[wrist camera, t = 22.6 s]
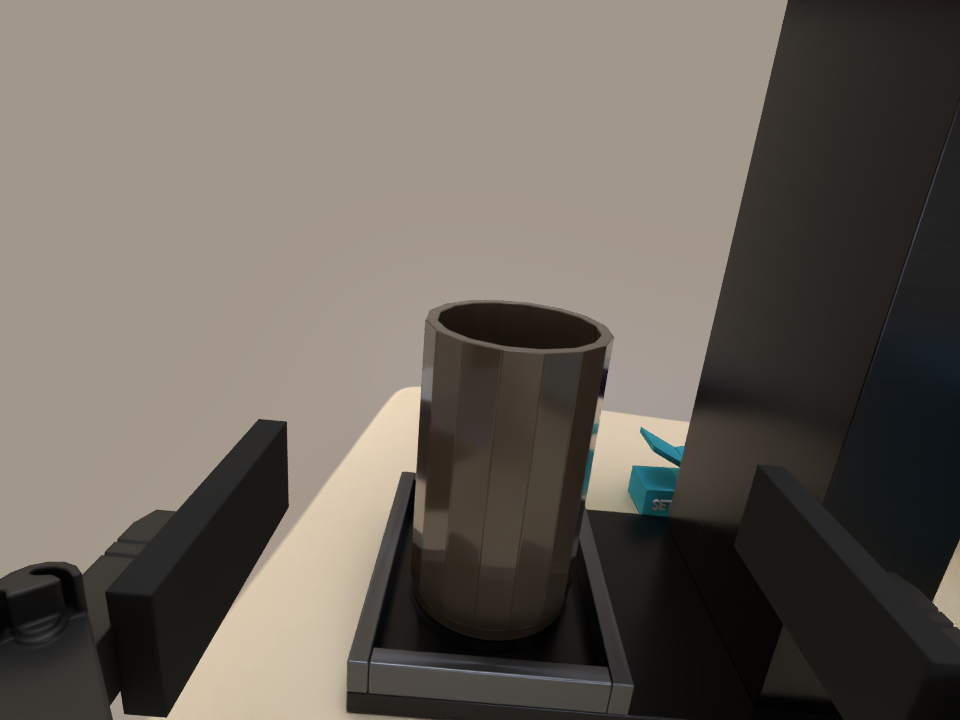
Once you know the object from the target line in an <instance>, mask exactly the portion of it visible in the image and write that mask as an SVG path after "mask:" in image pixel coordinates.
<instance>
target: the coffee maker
mask: <svg viewBox="0 0 960 720" xmlns="http://www.w3.org/2000/svg"><path fill="white" fill-rule="evenodd" d="M758 464H761V465H772V466H783V467H786V468H787V470H788V471H789V472H790V473H791V474H792V475H793V476H794V477H795V478H796V479H797V480H798V481H799V482H800V483H801V484H802V485H803V486H804V487H805V488H806V489H807V490H808V491H809V492H810V493H811V494H812V495H813V496H814V498H815V499H816V500H817V501H818V502H819V503H820V504H821V505H822V506H823V507H824V508H825V509H826V510H827V511H828V512H829V513H830V514H831V515H832V516H833V517H834V518H835V519H836V520H837V521H838V522H839V523H840V525H841V526H842V527H843V528H844V529H845V530H846V531H847V532H848V533H849V534H850V535H851V536H852V537H853V538H854V539H855V540H856V541H857V542H858V543H859V544H860V545H861V546H862V547H863V548H864V549H865V550H866V551H867V553H868V554H869V555H870V556H871V557H872V558H873V559H874V560H875V561H876V562H877V563H878V564H879V565H880V566H881V567H882V568H883V569H884V570H885V571H886V572H890V573H895V574H897V575H898V576H900V577H901V578H903V579H904V580H906V581H907V582H909V583H910V584H912V585H913V586H915V587H916V588H918V589H919V590H920V591H921V592H922V593H923V594H924V595H925V596H926V597H927V598H928V599H929V600H930V601H931V602H933V599H934V597H935V595H936V592H937V590H938V588H939V586H940V583H941V581H942V579H943V576H944V574H945V572H946V570H947V567H948V565H949V563H950V560H951V558H952V556H953V553H954V551H955V549H956V547H957V544H958V542H959V540H960V0H788V3H787V7H786V11H785V16H784V20H783V24H782V29H781V33H780V37H779V42H778V46H777V50H776V55H775V59H774V64H773V68H772V72H771V76H770V80H769V85H768V89H767V94H766V98H765V102H764V106H763V111H762V115H761V119H760V124H759V128H758V132H757V137H756V141H755V145H754V149H753V154H752V159H751V162H750V167H749V171H748V176H747V180H746V184H745V188H744V193H743V197H742V201H741V206H740V210H739V214H738V218H737V223H736V227H735V232H734V236H733V240H732V244H731V248H730V253H729V257H728V262H727V266H726V270H725V274H724V279H723V283H722V287H721V292H720V296H719V300H718V305H717V309H716V313H715V318H714V322H713V326H712V330H711V335H710V339H709V343H708V348H707V352H706V356H705V361H704V365H703V369H702V374H701V378H700V382H699V386H698V391H697V395H696V400H695V404H694V408H693V413H692V417H691V421H690V425H689V430H688V434H687V438H686V442H685V447H684V451H683V455H682V460H681V464H680V468H679V473H678V477H677V481H676V486H675V490H674V494H673V498H672V503H671V507H670V511H669V516H668V517H666V516H655V515H644V514H632V513H621V512H609V511H598V510H586V507H584V513H583V519H582V525H581V530H580V536H579V542H578V548H577V553H576V559H575V565H574V571H573V576H572V582H571V587H570V589H569V592H568V597H567V601H566V605H565V607H564V609H563V611H562V613H561V614H560V615H559V617H558V618H557V619H556V620H555V621H554V622H553V623H552V624H551V625H550V626H548V627H547V628H545V629H544V630H542V631H540V632H538V633H536V634H534V635H531V636H528V637H524V638H520V639H515V640H506V641H490V640H482V639H476V638H472V637H468V636H465V635H462V634H459V633H456V632H454V631H452V630H450V629H448V628H446V627H444V626H443V625H441V624H440V623H438V622H437V621H435V620H434V619H433V618H432V617H430V616H429V615H428V614H427V613H426V611H425V610H424V609H423V608H422V607H421V605H420V604H419V602H418V601H417V599H416V596H415V594H414V592H413V588H412V582H411V556H412V539H413V521H414V504H415V487H416V473H413V472H402V474H401V477H400V481H399V484H398V488H397V491H396V495H395V498H394V501H393V505H392V508H391V512H390V515H389V519H388V522H387V526H386V529H385V533H384V536H383V540H382V543H381V546H380V550H379V553H378V557H377V560H376V564H375V567H374V571H373V574H372V578H371V581H370V585H369V588H368V591H367V595H366V598H365V602H364V605H363V609H362V612H361V616H360V619H359V623H358V626H357V630H356V633H355V637H354V640H353V643H352V647H351V650H350V654H349V657H348V661H347V703H346V710H347V711H348V712H359V713H371V714H383V715H395V716H407V717H419V718H431V719H444V720H844V719H843V718H842V716H841V715H840V713H839V711H838V710H837V708H836V707H835V705H834V704H833V702H832V700H831V699H830V697H829V696H828V694H827V692H826V691H825V689H824V688H823V686H822V685H821V683H820V681H819V680H818V678H817V677H816V675H815V674H814V672H813V670H812V669H811V667H810V666H809V664H808V662H807V661H806V659H805V658H804V656H803V655H802V653H801V651H800V650H799V648H798V647H797V645H796V644H795V642H794V640H793V639H792V637H791V636H790V634H789V632H788V631H787V629H786V628H785V626H784V625H783V623H782V621H781V620H780V618H779V617H778V615H777V614H776V612H775V610H774V609H773V607H772V606H771V604H770V602H769V601H768V599H767V598H766V596H765V595H764V593H763V591H762V590H761V588H760V587H759V585H758V584H757V582H756V580H755V579H754V577H753V576H752V574H751V572H750V571H749V569H748V568H747V566H746V565H745V563H744V561H743V560H742V558H741V557H740V555H739V554H738V552H737V550H736V549H735V547H734V544H735V541H736V537H737V534H738V530H739V527H740V523H741V520H742V517H743V513H744V510H745V506H746V503H747V499H748V496H749V492H750V489H751V485H752V482H753V478H754V475H755V472H756V468H757V465H758Z"/></svg>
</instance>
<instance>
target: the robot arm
mask: <svg viewBox="0 0 960 720" xmlns="http://www.w3.org/2000/svg"><path fill="white" fill-rule="evenodd" d="M287 459H288V457H287V422H285V421H274V420H262V419H259V420H258V421H257V422H256V423H255V424H254V425H253V426H252V427H251V429H250V430H249V431H248V432H247V433H246V434H245V435H244V436H243V437H242V439H241V440H240V441H239V442H238V443H237V444H236V445H235V447H234V448H233V449H232V450H231V451H230V452H229V453H228V454H227V455H226V457H225V458H224V459H223V460H222V461H221V462H220V463H219V464H218V466H217V467H216V468H215V469H214V470H213V471H212V472H211V473H210V474H209V476H208V477H207V478H206V479H205V480H204V481H203V482H202V483H201V485H200V486H199V487H198V488H197V489H196V490H195V491H194V492H193V494H192V495H191V496H190V497H189V498H188V499H187V500H186V502H185V503H184V504H183V505H182V506H181V507H180V508H179V509H178V510H177V512H175V511H165V510H155V511H153V512H152V513H150V514H148V515H146V516H145V517H143V518H141V519H139V520H138V521H136V522H134V523H133V524H132V525H131V526H130V527H129V528H128V529H127V530H126V531H125V532H124V533H123V534H122V535H121V536H120V537H119V538H118V541H117V542H114V543H113V544H112V545H111V546H110V547H109V548H108V549H107V550H106V551H105V554H104V556H101V557H99V558H98V560H96V561H95V563H94V564H93V565H92V566H91V567H90V568H89V569H88V570H87V571H86V572H85V573H84V574H83V575H82V574H81V572H80V571H79V569H78V568H77V566H75V565H72V564H69V563H66V562H45V563H40V564H35V565H30V566H27V567H24V568H22V569H19V570H17V571H14V572H11V573H10V574H8V575H6V576H5V577H3V578H1V579H0V720H113V718H112V714H111V710H110V705H111V704H112V702H113V701H114V699H115V698H116V696H117V695H118V694H119V692H120V691H121V697H122V703H123V710H124V714H128V715H141V716H153V717H165V718H167V716H168V714H169V713H170V711H171V709H172V708H173V706H174V704H175V702H176V701H177V699H178V697H179V695H180V694H181V692H182V690H183V689H184V687H185V685H186V683H187V682H188V680H189V678H190V676H191V675H192V673H193V671H194V670H195V668H196V666H197V664H198V663H199V661H200V659H201V657H202V656H203V654H204V652H205V651H206V649H207V647H208V645H209V644H210V642H211V640H212V639H213V637H214V635H215V633H216V632H217V630H218V628H219V626H220V625H221V623H222V621H223V620H224V618H225V616H226V614H227V613H228V611H229V609H230V607H231V606H232V604H233V602H234V601H235V599H236V597H237V595H238V594H239V592H240V590H241V588H242V587H243V585H244V583H245V582H246V580H247V578H248V576H249V575H250V573H251V571H252V569H253V568H254V566H255V564H256V563H257V561H258V559H259V557H260V556H261V554H262V552H263V550H264V549H265V547H266V545H267V543H268V542H269V540H270V538H271V537H272V535H273V533H274V531H275V530H276V528H277V526H278V524H279V523H280V521H281V519H282V518H283V516H284V514H285V513H286V511H287V509H288V507H289V504H288V503H289V502H288V460H287ZM734 547H735V549H736V550H737V552H738V554H739V555H740V557H741V558H742V560H743V561H744V563H745V565H746V566H747V568H748V569H749V571H750V572H751V574H752V576H753V577H754V579H755V580H756V582H757V584H758V585H759V587H760V588H761V590H762V591H763V593H764V595H765V596H766V598H767V599H768V601H769V602H770V604H771V606H772V607H773V609H774V610H775V612H776V614H777V615H778V617H779V618H780V620H781V621H782V623H783V625H784V626H785V628H786V629H787V631H788V632H789V634H790V636H791V637H792V639H793V640H794V642H795V644H796V645H797V647H798V648H799V650H800V651H801V653H802V655H803V656H804V658H805V659H806V661H807V662H808V664H809V666H810V667H811V669H812V670H813V672H814V674H815V675H816V677H817V678H818V680H819V681H820V683H821V685H822V686H823V688H824V689H825V691H826V692H827V694H828V696H829V697H830V699H831V700H832V702H833V704H834V705H835V707H836V708H837V710H838V711H839V713H840V715H841V716H842V718H843V719H844V720H960V630H959V629H958V628H957V627H954V626H953V623H952V622H951V621H950V620H949V619H948V618H947V617H946V616H945V615H944V614H943V613H942V612H938V608H937V607H936V606H935V605H934V604H933V603H932V602H931V601H930V600H929V599H928V598H927V597H926V596H925V595H924V594H923V593H922V592H921V591H920V590H919V589H918V588H916V587H915V586H913V585H912V584H910V583H909V582H907V581H906V580H904V579H903V578H901V577H900V576H898V575H897V574H895V573H890V572H886V571H885V570H884V569H883V568H882V567H881V566H880V565H879V564H878V563H877V562H876V561H875V560H874V559H873V558H872V557H871V556H870V555H869V554H868V553H867V551H866V550H865V549H864V548H863V547H862V546H861V545H860V544H859V543H858V542H857V541H856V540H855V539H854V538H853V537H852V536H851V535H850V534H849V533H848V532H847V531H846V530H845V529H844V528H843V527H842V526H841V525H840V523H839V522H838V521H837V520H836V519H835V518H834V517H833V516H832V515H831V514H830V513H829V512H828V511H827V510H826V509H825V508H824V507H823V506H822V505H821V504H820V503H819V502H818V501H817V500H816V499H815V498H814V496H813V495H812V494H811V493H810V492H809V491H808V490H807V489H806V488H805V487H804V486H803V485H802V484H801V483H800V482H799V481H798V480H797V479H796V478H795V477H794V476H793V475H792V474H791V473H790V472H789V471H788V470H787V468H786V467H783V466H772V465H761V464H758V465H757V468H756V472H755V475H754V478H753V482H752V485H751V489H750V492H749V496H748V499H747V503H746V506H745V510H744V513H743V517H742V520H741V523H740V527H739V530H738V534H737V537H736V541H735V544H734Z"/></svg>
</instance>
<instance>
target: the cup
mask: <svg viewBox="0 0 960 720" xmlns="http://www.w3.org/2000/svg"><path fill="white" fill-rule="evenodd" d="M613 340H614V336H613V335H612V333H611V332H610V331H609V329H608V328H607V327H606V326H605V325H603V324H601V323H599V322H597V321H595V320H593V319H591V318H589V317H587V316H584V315H581V314H577V313H574V312H571V311H567V310H564V309H560V308H555V307H549V306H544V305H539V304H533V303H524V302H513V301H502V300H501V301H499V300H476V301H475V300H473V301H472V300H471V301H463V302H455V303H448V304H444V305H442V306H439V307H437V308H434V309H432V310H430V311H429V313H428V315H427V318H426V320H425V334H424V352H423V368H422V385H421V402H420V419H419V436H418V453H417V470H416V487H415V504H414V521H413V539H412V556H411V582H412V588H413V592H414V594H415V596H416V599H417V601H418V602H419V604H420V605H421V607H422V608H423V609H424V610H425V611H426V613H427V614H428V615H429V616H430V617H432V618H433V619H434V620H435V621H437V622H438V623H440V624H441V625H443V626H444V627H446V628H448V629H450V630H452V631H454V632H456V633H459V634H462V635H465V636H468V637H472V638H476V639H482V640H490V641H506V640H515V639H520V638H524V637H528V636H531V635H534V634H536V633H538V632H540V631H542V630H544V629H545V628H547V627H548V626H550V625H551V624H552V623H553V622H554V621H555V620H556V619H557V618H558V617H559V615H560V614H561V613H562V611H563V609H564V607H565V605H566V601H567V597H568V592H569V589H570V587H571V582H572V576H573V571H574V565H575V559H576V553H577V548H578V542H579V536H580V530H581V525H582V519H583V513H584V507H585V502H586V496H587V490H588V484H589V479H590V473H591V467H592V461H593V455H594V450H595V444H596V438H597V432H598V427H599V421H600V415H601V409H602V404H603V398H604V392H605V386H606V381H607V375H608V369H609V363H610V357H611V352H612V346H613Z"/></svg>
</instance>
